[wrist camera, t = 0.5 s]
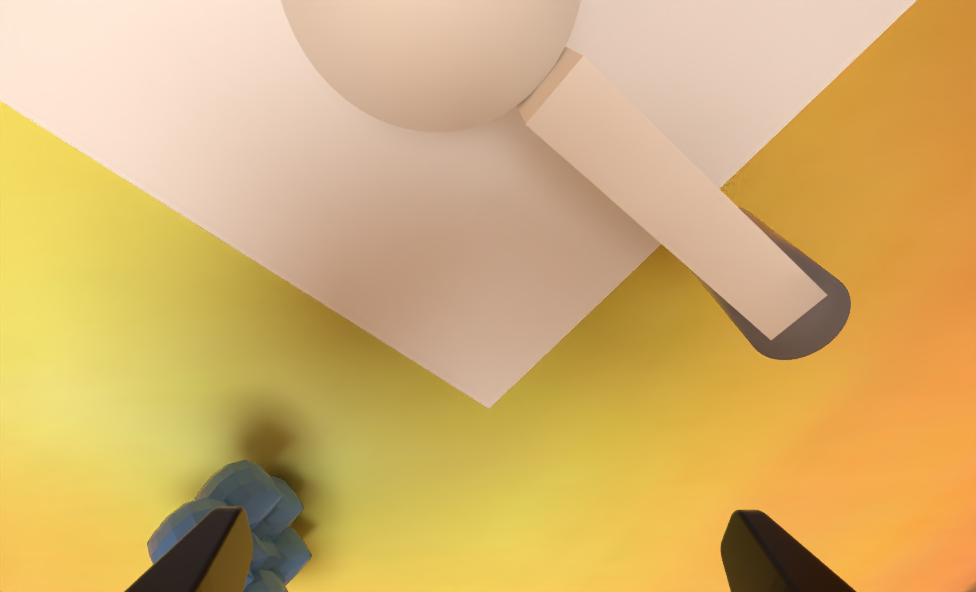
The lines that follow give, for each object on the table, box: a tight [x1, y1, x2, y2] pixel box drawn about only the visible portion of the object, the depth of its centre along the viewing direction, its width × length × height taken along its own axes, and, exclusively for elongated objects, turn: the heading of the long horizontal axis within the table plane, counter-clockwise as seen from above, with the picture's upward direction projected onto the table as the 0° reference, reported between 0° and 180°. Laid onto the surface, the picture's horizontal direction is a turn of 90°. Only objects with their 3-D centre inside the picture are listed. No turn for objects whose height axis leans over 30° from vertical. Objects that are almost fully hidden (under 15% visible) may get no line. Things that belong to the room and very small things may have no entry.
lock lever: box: [281, 0, 851, 360], centre depth 13 cm, size 15×6×4 cm, turn 50°
